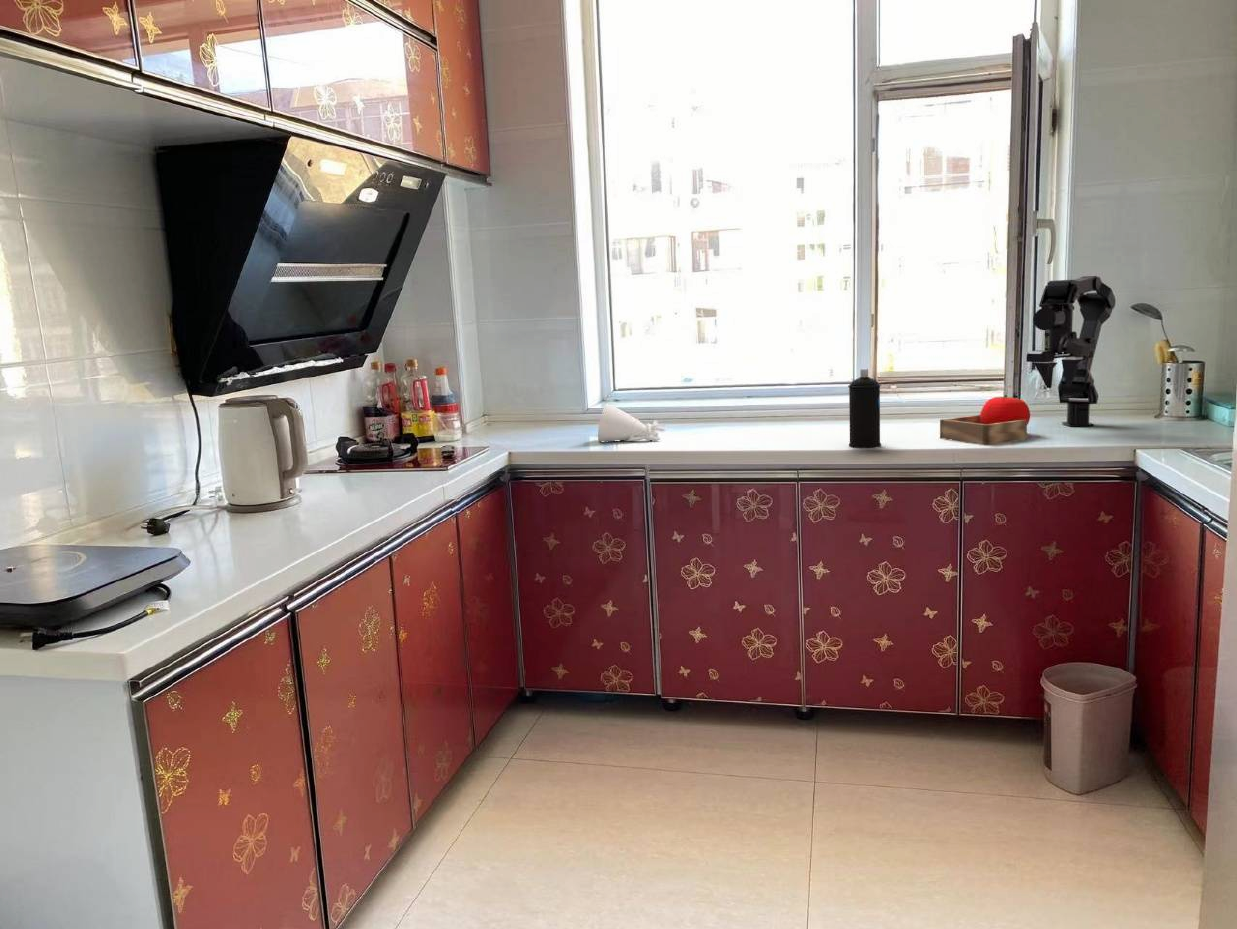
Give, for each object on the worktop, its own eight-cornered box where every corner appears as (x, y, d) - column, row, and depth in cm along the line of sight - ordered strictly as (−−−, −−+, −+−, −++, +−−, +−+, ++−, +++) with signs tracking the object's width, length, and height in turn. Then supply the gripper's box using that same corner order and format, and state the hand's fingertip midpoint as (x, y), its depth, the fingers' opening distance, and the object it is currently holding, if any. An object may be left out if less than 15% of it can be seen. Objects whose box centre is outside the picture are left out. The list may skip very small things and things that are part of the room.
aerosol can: (861, 449, 247) (860, 371, 244) (842, 445, 255) (841, 369, 251) (887, 445, 250) (887, 368, 247) (868, 442, 258) (867, 367, 254)
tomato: (970, 433, 260) (973, 394, 258) (1006, 431, 264) (1009, 393, 263) (1000, 437, 250) (1003, 396, 248) (1037, 436, 254) (1040, 396, 252)
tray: (979, 432, 264) (979, 414, 263) (1026, 438, 250) (1026, 419, 249) (939, 438, 258) (940, 419, 257) (985, 444, 244) (986, 425, 243)
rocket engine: (668, 407, 278) (608, 395, 281) (658, 437, 271) (597, 424, 274) (667, 433, 287) (609, 421, 290) (657, 462, 280) (598, 450, 284)
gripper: (1061, 330, 244) (1059, 391, 246) (1111, 326, 251) (1109, 385, 254) (1025, 330, 254) (1024, 389, 256) (1075, 326, 261) (1073, 383, 264)
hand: (1058, 386), depth 257 cm, fingers open, 7 cm apart
